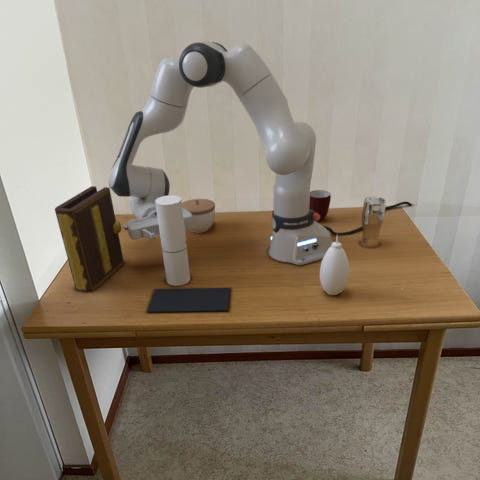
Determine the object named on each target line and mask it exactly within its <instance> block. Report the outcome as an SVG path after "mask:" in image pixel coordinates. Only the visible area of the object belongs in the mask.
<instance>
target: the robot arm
mask: <svg viewBox="0 0 480 480" xmlns="http://www.w3.org/2000/svg"><path fill="white" fill-rule="evenodd" d="M223 82H224V83H226V84H227V85H229V87H230V88H231V90H232V91H233V92H234V94H235V96H237V99H238V101H239V102H240V103H241V105H242V106H243V108H244V111H246V113H247V114H248V116H249V118H250V119H251V122H252V123H253V125H254V127H255V130H256V132H257V135H258V137H259V139H260V140H259V141H260V143H261V145H262V147H263V150H264V153H265V160H266V163H267V166H268V168H269V169H270V170H271V171H272V172H273V173H275V179H274V183H273V186H272V187H273V189H272V190H273V191H272V192H273V198H272V199H273V201H272V203H273V209H272V211H271V228H272V235H271V237H270V240H271V242H270V246H269V248H268V255H269V257H270V258H272V259H273V260H276V261H277V262H278V261H279V262H283V263H291V264H294V265H297V266H304V265H306V264H310V263H313V262H317V261H321V260H323V258H324V255H325V254H326V252H327V250H328V249H329V248H330V247H331V244H332V243H333V242H334V241H333V240H332V237H331V235H333V236H337V234H338V236H347V235H352V234H355V233H357V232H360V231H363V225H361V226H360V227H358V228H355V229H352V230H350V231H345V232H336V231H334V230H333V229H332V228H331V227H329V226H325V225H322V224H320V222H316V221H318V220H319V219H320V215H319V214H318V213H314V211H313V210H311V209H309V203H310V192H311V183H312V176H313V170H314V162H315V156H316V155H315V153H316V146H317V145H316V144H317V134H316V132H315V130H314V128H313V126H311V125H310V124H309V123H307V122H302V121H298V122H295V121H294V118H293V116H292V113H291V110H290V107H289V102H288V99H287V97H286V96H285V94H284V92H283V90H282V88H281V87H280V85H279V83H278V81H277V80H276V78H275V77H274V75H273V74H272V72H271V70H270V68H269V67H268V65H267V64H266V63H265V61H264V60H263V58H262V57H261V56H260V55H259V53H257V51H256V50H255V49H254V48H253V47H252V45H250V44H247V43H242V44H238V45H235V46H234V47H232V48H231V49H229V50H227V48H226V47H224V46H223V45H222V44H221V43H218V42H215V41H206V40H204V41H203V40H202V41H199V42H192V43H190V44H189V45H187V46H186V47H185V48H184V49H183V51H182V52H181V54H180V55H179V58H178V57H171V56H170V57H166V58H163V59H162V60H161V61H160V62H159V65H158V66H157V70H156V72H155V75H154V77H153V81H152V84H151V88H150V93H149V97H148V100H147V101H146V104H145V105H144V106H143V108H142V109H141V110H139V111H137V112H135V113H134V114H133V116H132V118H131V120H130V123H129V125H128V127H127V129H126V132H125V135H124V138H123V141H122V143H121V146H120V148H119V152H118V154H117V156H116V160H115V161H114V163H113V165H112V167H111V170H110V172H109V176H108V186H109V188H110V190H111V191H112V192H113V193H114V194H116V196H117V197H122V198H123V197H124V198H125V197H127V198H129V197H130V199H129V207H130V208H129V209H130V211H131V213H132V215H133V216H134V219H130V220H128V221H127V222H126V223H124V224H123V225H122V228H123V229H124V230H125V231H127V233H128V236H129V239H131V240H139V239H143V238H144V239H145V238H146V239H149V240H152V241H153V240H156V239H157V238H156V236H157V235H160V232H159V225H158V218H157V211H156V204H155V200H156V199H157V198H159V197H163V196H169V194H170V190H171V189H170V187H171V185H170V184H171V183H170V180H169V177H168V176H167V174H166V172H165V171H164V169H162V168H157V167H150V166H143V165H136V164H133V163H134V161H135V158H136V156H137V153H138V150H139V148H140V145H141V144H142V142H143V141H144V140H145V139H147V138H149V137H153V136H156V135H160V134H166V133H170V132H172V131H174V130H175V129H178V128H179V127H180V126H181V125H182V123H183V122H184V119H185V117H186V113H187V109H188V105H189V101H190V96H191V93H192V91H193V89H194V88H206V87H207V88H209V87H213V86H216V85H218V84H220V83H223ZM402 205H408V206H409V207H411V206H413V205H412V203H411V202H409V201H401V202H398V203H396V204H393V205H388V206H385V211H387V210H390V209H394V208H397V207H399V206H402ZM182 210H183V219H184V228H185V233H186V231H187V229H188V228H187V227H192V226H193V224H194V222H193V215H192V214H191V213H190V212H189V211H188V210H186V209H185V208H182ZM314 219H315V220H316V221H315V220H314ZM330 233H331V234H330Z"/></svg>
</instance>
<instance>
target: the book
mask: <svg viewBox="0 0 480 480" xmlns="http://www.w3.org/2000/svg"><path fill="white" fill-rule="evenodd" d="M97 188H98V187H97V186H94V185H92V186H89V187H88V188H86V189H84V190H83V191H81V192H79V193H77V194H76V195H74V196H73V197H71V198H69V199H67V200H66V201H64V202H63V203H60V204H59V205H57V206H56V207H55V208H54V212H55V216H56V220H57V225H58V227H59V232H60V235H61V238H62V243H63V246H64V250H65V255H66V258H67V262H68V265H69V269H70V273H71V276H72V277H71V278H72V281H73V284H74V287H75V290H76V291H78V292H83V293H92V292H94V291H95V290H97V289H98V288H99V287H100V286H101V285H102V284H104V283H105V281H106V280H108V279H109V278H110V277H111V276H113V274H115V272H116V271H118V270H119V269H120V268H121V267H122V266H123V265H124V264H125V261H124V255H123V250H122V245H121V240H120V235H119V233H121V231H122V224H121V222H120V221H119V220H117V219H116V214H115V209H114V204H113V199H112V194H111V188H110V187H107V186H106V187H105V186H104V187H103V188H101V189H99V190H98V189H97Z"/></svg>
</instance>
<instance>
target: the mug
mask: <svg viewBox="0 0 480 480" xmlns="http://www.w3.org/2000/svg"><path fill="white" fill-rule="evenodd" d="M331 196H332V194H331V192H330V191H328V190H324V189H313V190H310V203H309V209H311V210H313V211H314V213H318V214H319V215H320V219H319V220H318V221H316V220H315V219H314V220H315V221H316V222H317V223H322V222H324V220H325V219H326V217H327V215H328V213H329V209H330V205H331V198H332V197H331Z"/></svg>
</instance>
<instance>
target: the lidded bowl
mask: <svg viewBox="0 0 480 480" xmlns="http://www.w3.org/2000/svg"><path fill="white" fill-rule="evenodd" d="M182 208H185V209H186V210H188V211H189V212H190V213H191V214H192V215H193V222H194V224H193V226H192V227H187V228H186V229H188V230H189V231H190V232H192V233H194V234H195V233H196V234H200V233H205V232H207V231H209V230H210V228H211V227H212V225H213V224H214V222H215V217H216V203H215V202H214V201H213V200H211V199H207V198H206V199H205V198H193V199H189V200H185V201H183V202H182Z"/></svg>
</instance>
